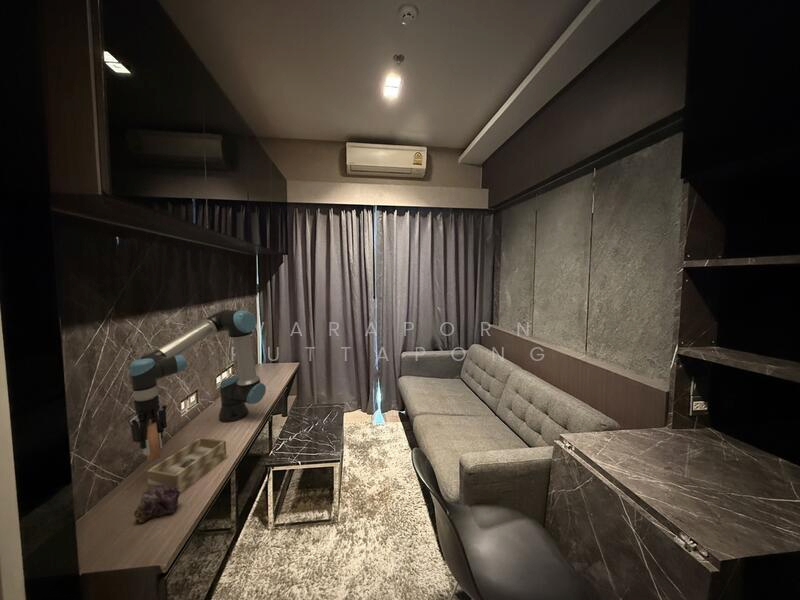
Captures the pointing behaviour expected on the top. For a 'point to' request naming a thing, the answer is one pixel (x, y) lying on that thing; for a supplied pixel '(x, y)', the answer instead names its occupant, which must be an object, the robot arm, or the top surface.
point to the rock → (157, 502)
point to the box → (188, 464)
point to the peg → (153, 441)
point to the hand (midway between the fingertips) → (153, 450)
